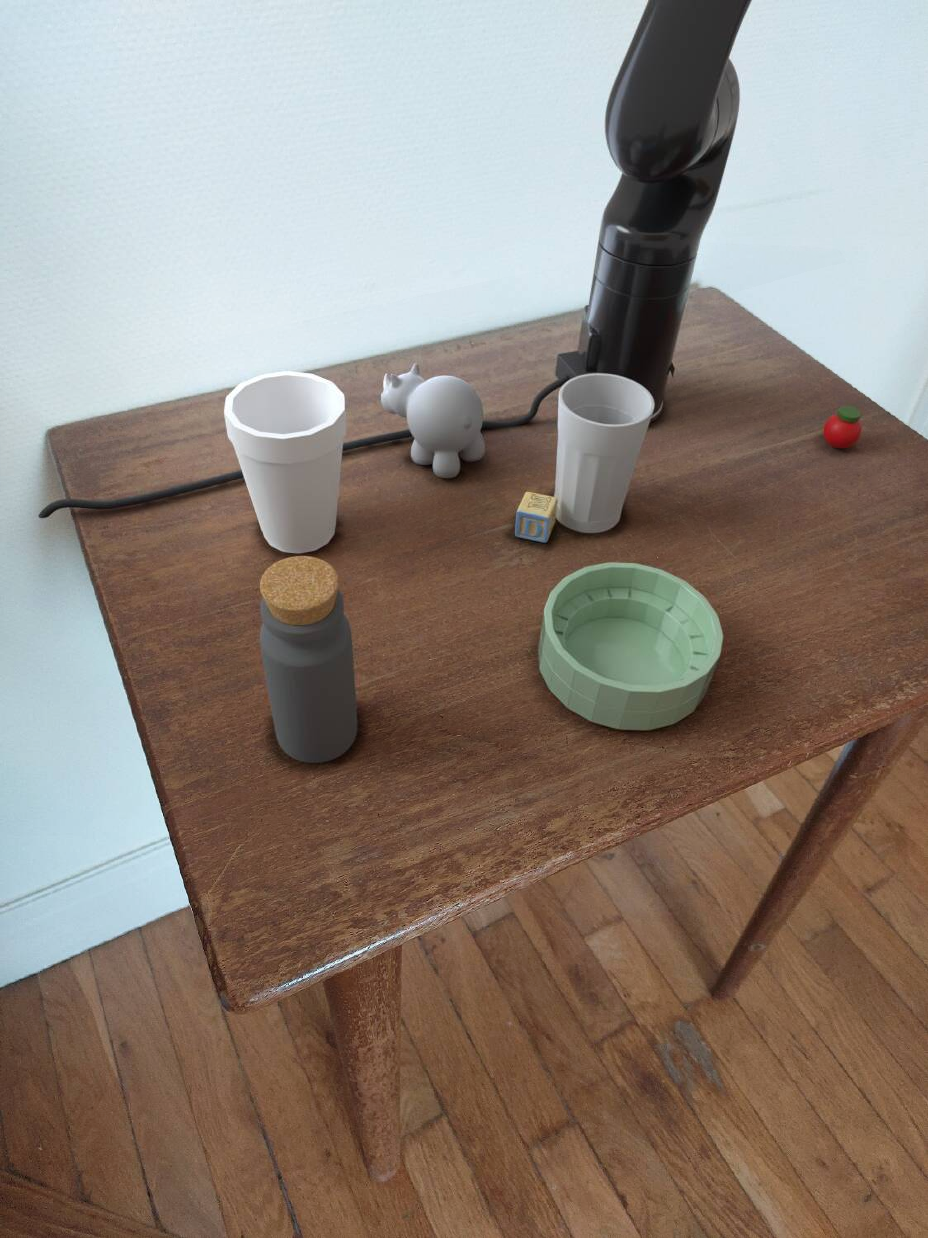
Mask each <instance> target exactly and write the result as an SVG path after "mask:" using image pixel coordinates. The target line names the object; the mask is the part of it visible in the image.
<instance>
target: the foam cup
mask: <svg viewBox="0 0 928 1238" xmlns="http://www.w3.org/2000/svg"><path fill="white" fill-rule="evenodd" d="M345 399H346V398H345V394H344V393H343V392H342V390H341V389H340V388H338V386H337V385H336V383H334V382H333V381H331V380H329V379H326V378H323V377H322V376H319V375H316V374H314V373H308V372H300V371H289V370H284V371H278V372H277V371H276V372H271V373H264V374H263V373H262V374H259V375H257V376H254V377H252V378H250V379H248V380H245V381H243V382H241V383H238V384H237V385H236V387H234V389H233V390H231V391H230V393H228V394H227V396H225V400H224V401H225V402H224V407H223V415H224V421H225V427H226V433H227V438H228V440H229V441H230V443H231V444H232V445H233V448H234V453H235V455H236V457H237V458H236V459H237V460H238V463H239V467H240V470H242V473H243V476H244V478H243V479H244V482H245V485H246V487H247V491H248V493H249V497H250V500H251V502H252V505H253V509H254V511H255V514H256V517H257V520H258V521H257V522H258V523H259V527H260V530H261V532H262V533H263V537H264V539H265V540H266V542H267V543H268V544H269V546H271V547H272V548H275V549H276V550H278V551H280V552H282V553H289V554H297V555H299V554H304V553H309V552H314V551H315V552H316V551H317V550H319V549H320V548H322V547H324V546H326V545H328V544H329V542H330V541H331V540H332V538H333V537H334V536H335V532H336V530H335V529H336V526H337V514H338V504H339V503H338V502H339V492H340V481H341V472H342V471H341V470H342V460H343V459H342V457H343V452H342V449H343V443H344V438H346V436H347V419H346V418H347V416H346V401H345Z"/></svg>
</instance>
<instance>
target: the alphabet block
mask: <svg viewBox="0 0 928 1238" xmlns="http://www.w3.org/2000/svg"><path fill="white" fill-rule="evenodd" d="M557 502H558V499H557V498H556V497H554V496H551V495H546V494H541V493H537V492H531V491H526V492H525V493H524V495H523V497H522V499H521V501H520V503H519V506H518V508H517V510H516V513H515V514H516V515H515V526H514V536H515V537H516V538H519V539H520V538H521V539H525V540H528V541H529V540H530V541H534V542H539V543H542V544H543V543H544V544H545V543H548V541H549V538H550V536H551V534H552V531H553V529H554V526H555V523H556V510H557Z"/></svg>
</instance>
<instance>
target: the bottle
mask: <svg viewBox="0 0 928 1238" xmlns="http://www.w3.org/2000/svg"><path fill="white" fill-rule="evenodd" d="M339 585H340V582H339V575H338V572H337V571H336V569H335V568H334V567H333V566H332V565H331V564H330V563H328V562H326V561H325V560H323V559H320V558H317V557H314V556H308V555H296V556H290V557H286V558H283V559H281V560H279V561H276V562H275V563H273V564H272V565H271V566H269V567H268V568H267V569H266V570H265V572H264V573H263V574H262V576H261V578H260V582H259V590H260V593H261V596H262V598H261V600H260V605H259V606H260V607H259V610H260V617H261V621H262V625H261V627H260V631H259V644H260V645H259V647H260V652H261V653H260V654H261V659H262V664H263V671H264V676H265V681H266V687H267V692H268V699H269V705H270V709H271V716H272V720H273V726H274V732H275V737H276V739H277V740H276V741H277V743H278V745H279V747H280V748H281V750H282V752H284V753H285V754H286V755H288V756H289V757H290V758H291V759H294V760H296V761H298V762H302V763H307V764H323V763H327V762H330V761H333V760H335V759H338V758H339V757H341V756H342V755H343V754H345V753H346V752H347V751H348V750H349V749H350V748H351V746H352V745H353V743H354V742H355V739H356V738H357V733H358V711H357V710H358V709H357V694H356V679H355V677H356V676H355V665H354V663H355V662H354V648H353V647H354V646H353V636H352V629H351V625H350V621H349V619H348V617H347V616H346V615H345V604H344V603H345V602H344V598H343V595H342V591H341V590H340V589H339Z"/></svg>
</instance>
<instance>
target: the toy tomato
mask: <svg viewBox="0 0 928 1238" xmlns="http://www.w3.org/2000/svg"><path fill="white" fill-rule="evenodd" d="M861 416H862V412H861V410H860V409H859V408H857V407H855V406H852V405H842V406H840V407H839V408H838V410H837V412H836V413H834V414H833V415H831V416H830V417H829V418H828V419H827V420H826V421H825V423H824V425H823V430H822V434H823V439H824V440H825V442H826V443H827V444H828V445H829V446H831V447H832V448H835V449H846V448H849V447H852V446H853V445H854V444H856V443H857V442H858V441H859V439H860V438H861V434H862V424H861V421H860V418H861Z"/></svg>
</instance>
